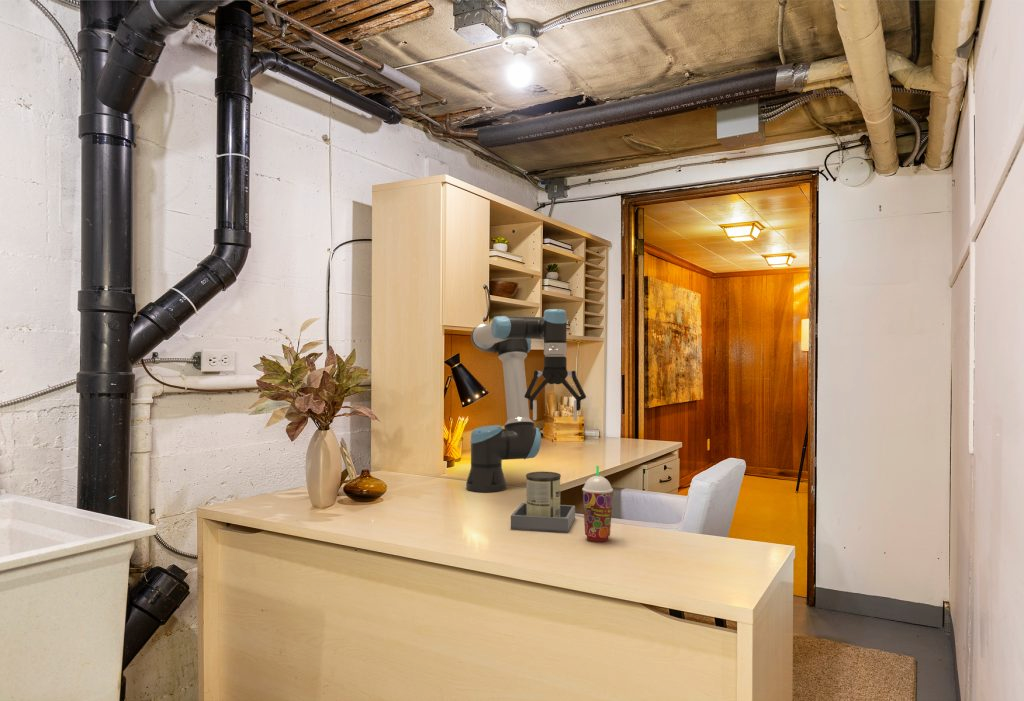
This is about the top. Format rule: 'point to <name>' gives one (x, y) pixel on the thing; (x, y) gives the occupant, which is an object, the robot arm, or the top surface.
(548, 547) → the top surface
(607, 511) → the smoothie
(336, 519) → the top surface
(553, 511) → the coffee can
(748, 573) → the top surface
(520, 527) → the bin
